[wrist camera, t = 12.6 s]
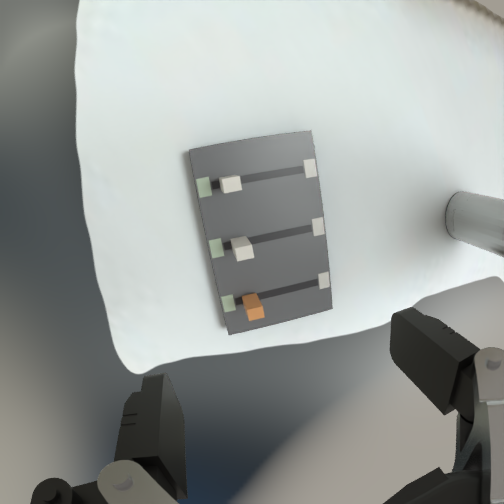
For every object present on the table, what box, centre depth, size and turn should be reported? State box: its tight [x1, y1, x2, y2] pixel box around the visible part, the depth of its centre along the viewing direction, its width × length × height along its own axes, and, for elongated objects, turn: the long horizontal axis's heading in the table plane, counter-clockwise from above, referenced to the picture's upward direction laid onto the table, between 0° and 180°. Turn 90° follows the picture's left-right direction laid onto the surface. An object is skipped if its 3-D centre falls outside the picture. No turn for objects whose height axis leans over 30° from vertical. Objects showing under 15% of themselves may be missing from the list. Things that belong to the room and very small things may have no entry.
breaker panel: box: [189, 131, 333, 335], centre depth 41 cm, size 16×26×7 cm, turn 10°
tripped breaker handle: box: [242, 293, 265, 321], centre depth 41 cm, size 2×2×4 cm
